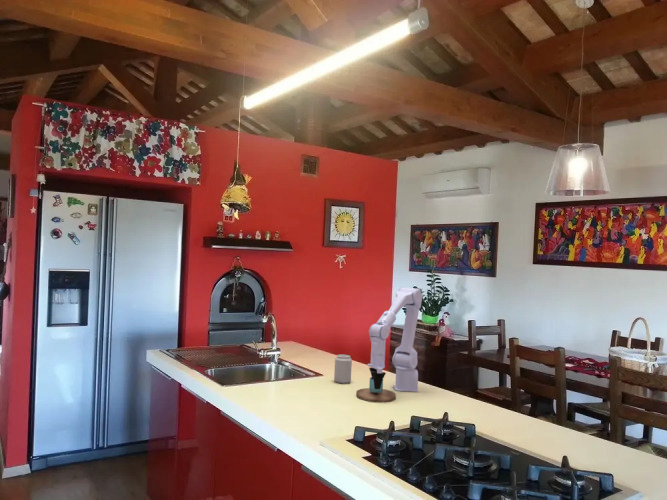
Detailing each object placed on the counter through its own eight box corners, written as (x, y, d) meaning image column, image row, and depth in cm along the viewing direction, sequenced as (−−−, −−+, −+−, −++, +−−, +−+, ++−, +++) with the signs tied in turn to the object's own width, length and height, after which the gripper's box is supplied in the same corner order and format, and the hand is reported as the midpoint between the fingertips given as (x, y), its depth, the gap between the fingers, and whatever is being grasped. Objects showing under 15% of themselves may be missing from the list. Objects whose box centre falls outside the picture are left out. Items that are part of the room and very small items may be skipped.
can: (344, 385, 235) (345, 357, 235) (330, 381, 239) (332, 355, 240) (354, 382, 241) (355, 355, 241) (340, 379, 245) (341, 353, 245)
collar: (381, 389, 221) (382, 377, 221) (383, 392, 215) (383, 380, 215) (368, 388, 220) (369, 376, 220) (370, 392, 215) (370, 379, 215)
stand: (392, 392, 226) (392, 378, 226) (398, 403, 210) (399, 387, 210) (354, 391, 225) (355, 376, 225) (358, 401, 209) (359, 386, 209)
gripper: (366, 350, 225) (364, 382, 225) (370, 356, 210) (368, 391, 210) (382, 350, 225) (381, 383, 225) (388, 357, 211) (386, 392, 211)
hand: (376, 387), depth 218 cm, fingers closed on collar, 5 cm apart
